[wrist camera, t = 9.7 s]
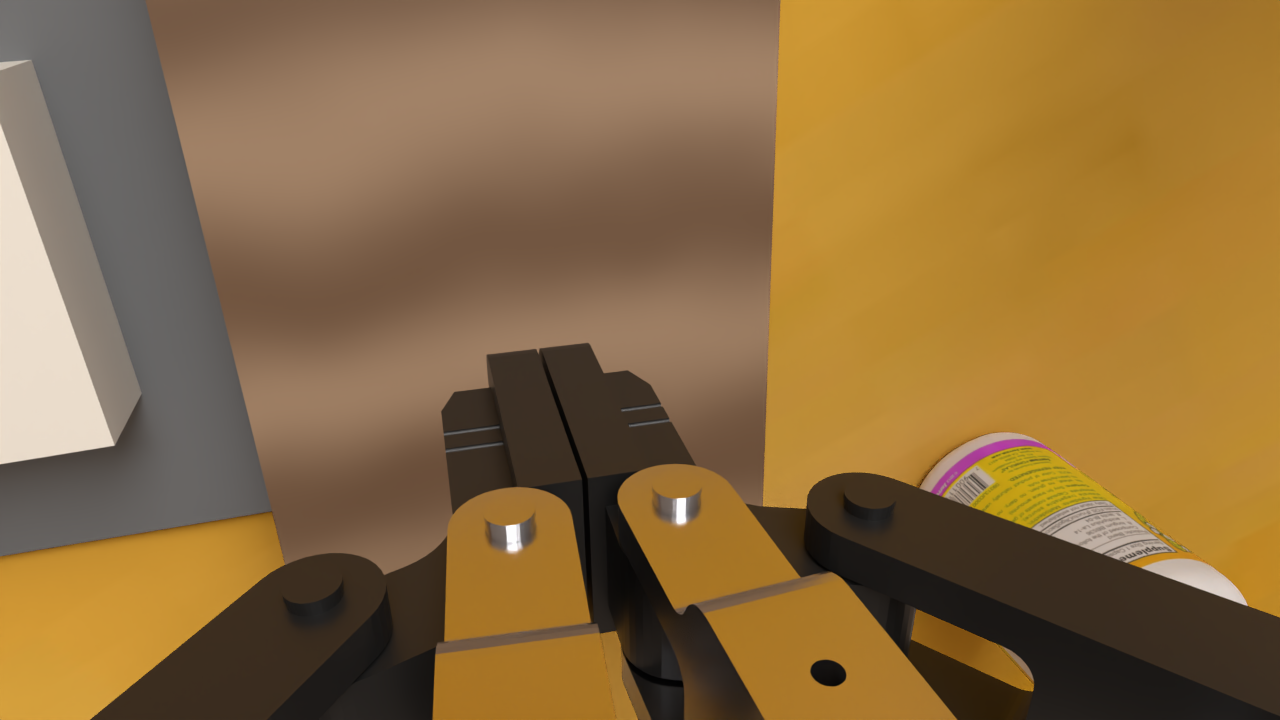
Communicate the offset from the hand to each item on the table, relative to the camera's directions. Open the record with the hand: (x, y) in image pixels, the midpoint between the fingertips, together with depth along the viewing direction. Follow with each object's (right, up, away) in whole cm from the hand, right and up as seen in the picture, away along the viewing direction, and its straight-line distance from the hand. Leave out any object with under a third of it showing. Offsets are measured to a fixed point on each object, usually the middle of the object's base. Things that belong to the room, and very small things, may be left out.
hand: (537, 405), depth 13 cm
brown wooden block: (-3, +5, +13) cm, 14 cm away
